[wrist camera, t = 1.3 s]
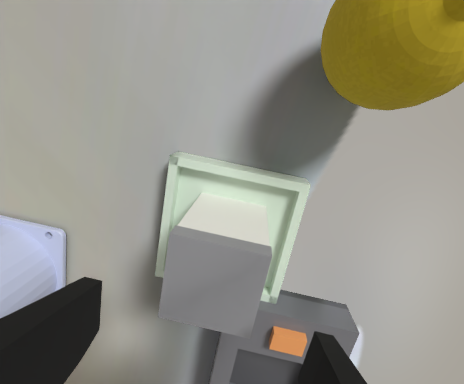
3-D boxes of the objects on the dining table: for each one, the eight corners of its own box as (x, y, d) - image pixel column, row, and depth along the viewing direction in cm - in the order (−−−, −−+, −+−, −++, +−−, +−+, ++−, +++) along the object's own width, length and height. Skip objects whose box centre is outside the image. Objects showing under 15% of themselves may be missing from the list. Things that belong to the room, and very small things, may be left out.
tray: (163, 262, 19) (154, 275, 17) (178, 151, 16) (169, 155, 15) (274, 288, 18) (275, 304, 17) (305, 178, 16) (310, 185, 15)
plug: (191, 250, 17) (158, 317, 12) (201, 191, 16) (169, 233, 10) (252, 264, 17) (249, 338, 11) (267, 205, 16) (272, 256, 10)
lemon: (347, 132, 15) (437, 149, 8) (285, 53, 14) (316, -17, 7) (438, 59, 14) (662, -10, 6) (375, -32, 13) (543, -243, 5)
